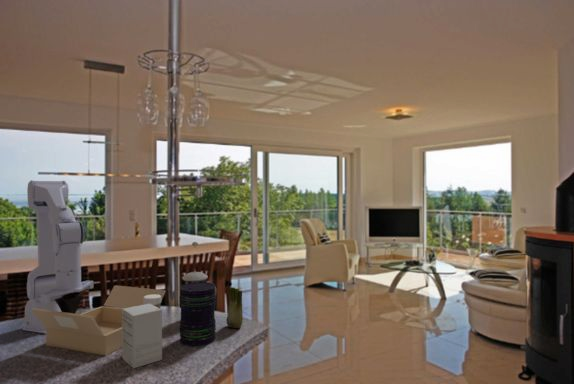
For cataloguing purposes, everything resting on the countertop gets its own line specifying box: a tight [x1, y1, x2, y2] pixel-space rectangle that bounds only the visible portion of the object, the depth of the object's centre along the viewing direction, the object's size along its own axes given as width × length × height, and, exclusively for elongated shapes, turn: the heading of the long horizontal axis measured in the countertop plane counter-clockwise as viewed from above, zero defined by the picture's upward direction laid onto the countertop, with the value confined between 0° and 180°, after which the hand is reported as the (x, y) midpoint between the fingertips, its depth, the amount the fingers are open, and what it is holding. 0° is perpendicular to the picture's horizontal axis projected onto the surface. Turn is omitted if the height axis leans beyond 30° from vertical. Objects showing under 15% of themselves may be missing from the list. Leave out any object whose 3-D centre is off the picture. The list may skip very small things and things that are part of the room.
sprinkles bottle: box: [143, 294, 162, 309], centre depth 110 cm, size 5×5×14 cm
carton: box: [45, 305, 123, 356], centre depth 116 cm, size 20×20×5 cm
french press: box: [178, 241, 217, 323], centre depth 132 cm, size 10×12×25 cm
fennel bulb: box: [226, 286, 244, 329], centre depth 125 cm, size 6×5×12 cm
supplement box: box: [121, 304, 163, 369], centre depth 101 cm, size 7×7×13 cm
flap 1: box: [32, 308, 104, 336], centre depth 105 cm, size 19×7×1 cm
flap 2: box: [103, 284, 166, 309], centre depth 128 cm, size 19×7×1 cm
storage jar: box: [178, 281, 217, 348], centre depth 115 cm, size 10×10×15 cm
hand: (68, 323), depth 105 cm, fingers closed, pressing on flap 1
